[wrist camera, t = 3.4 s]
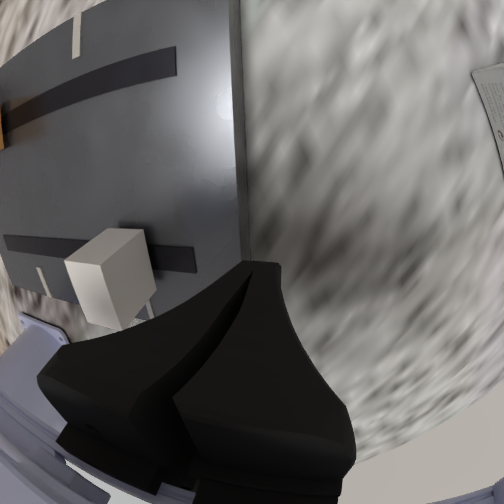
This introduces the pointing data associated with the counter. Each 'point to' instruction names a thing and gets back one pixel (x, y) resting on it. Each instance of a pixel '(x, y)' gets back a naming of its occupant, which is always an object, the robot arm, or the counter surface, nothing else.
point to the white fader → (112, 277)
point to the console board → (127, 145)
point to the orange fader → (0, 137)
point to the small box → (493, 99)
